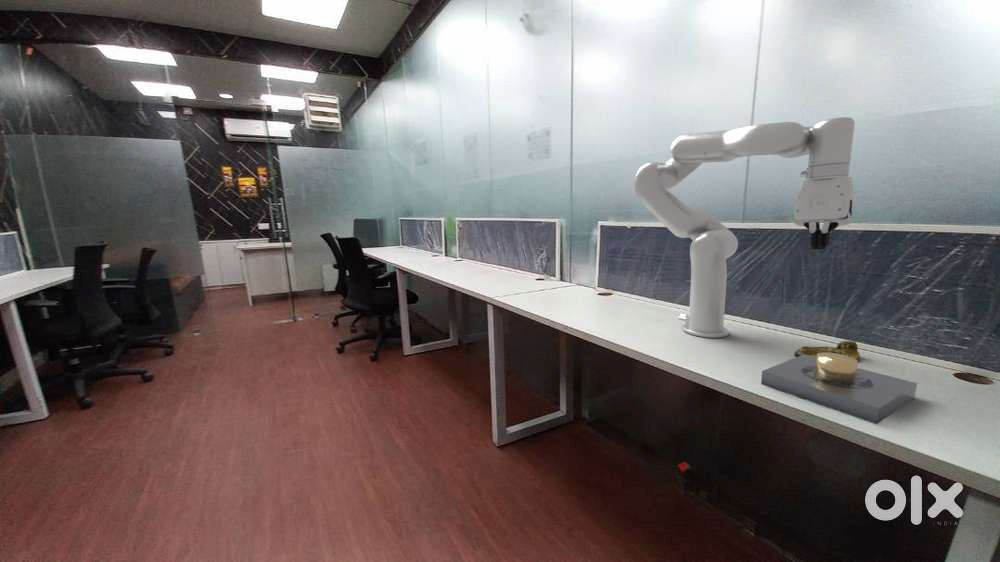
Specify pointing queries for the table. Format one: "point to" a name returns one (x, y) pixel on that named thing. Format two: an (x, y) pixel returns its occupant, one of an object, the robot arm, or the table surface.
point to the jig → (841, 389)
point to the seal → (832, 350)
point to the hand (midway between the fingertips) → (818, 248)
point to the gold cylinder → (836, 367)
